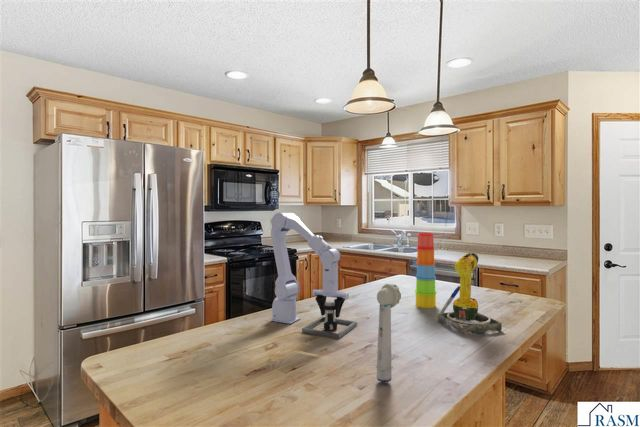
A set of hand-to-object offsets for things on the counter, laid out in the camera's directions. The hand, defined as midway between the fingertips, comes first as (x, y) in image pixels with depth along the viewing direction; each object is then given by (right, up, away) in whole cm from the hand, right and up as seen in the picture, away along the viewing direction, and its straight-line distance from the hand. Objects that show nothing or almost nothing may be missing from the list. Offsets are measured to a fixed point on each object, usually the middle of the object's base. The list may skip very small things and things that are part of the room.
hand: (330, 315), depth 137 cm
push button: (-1, -5, -1) cm, 5 cm away
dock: (0, -5, 0) cm, 5 cm away
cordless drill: (+54, -5, +4) cm, 55 cm away
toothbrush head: (+14, -5, -40) cm, 43 cm away
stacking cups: (+45, -5, +30) cm, 55 cm away
